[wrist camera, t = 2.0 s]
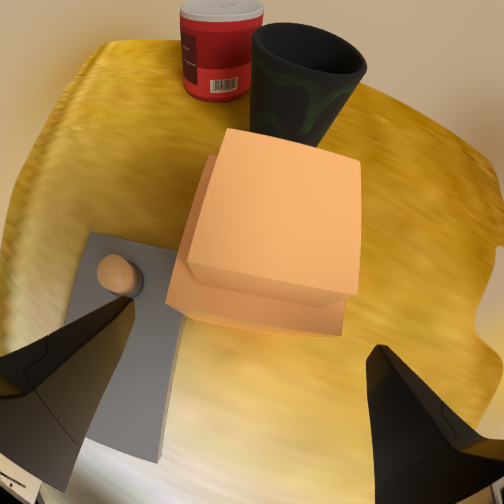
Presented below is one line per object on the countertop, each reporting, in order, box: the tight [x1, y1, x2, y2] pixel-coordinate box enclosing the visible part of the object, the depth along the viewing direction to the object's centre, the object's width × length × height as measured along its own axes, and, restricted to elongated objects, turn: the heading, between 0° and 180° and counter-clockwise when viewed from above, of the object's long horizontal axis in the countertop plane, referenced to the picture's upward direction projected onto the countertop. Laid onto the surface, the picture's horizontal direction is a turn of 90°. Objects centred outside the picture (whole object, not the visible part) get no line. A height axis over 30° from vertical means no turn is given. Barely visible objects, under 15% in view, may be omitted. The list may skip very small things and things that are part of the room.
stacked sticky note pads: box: [165, 128, 361, 338], centre depth 14 cm, size 7×7×13 cm
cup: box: [250, 23, 367, 148], centre depth 19 cm, size 8×8×12 cm
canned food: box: [180, 0, 264, 102], centre depth 22 cm, size 8×8×11 cm
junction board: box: [64, 231, 186, 463], centre depth 15 cm, size 16×9×4 cm, turn 170°
